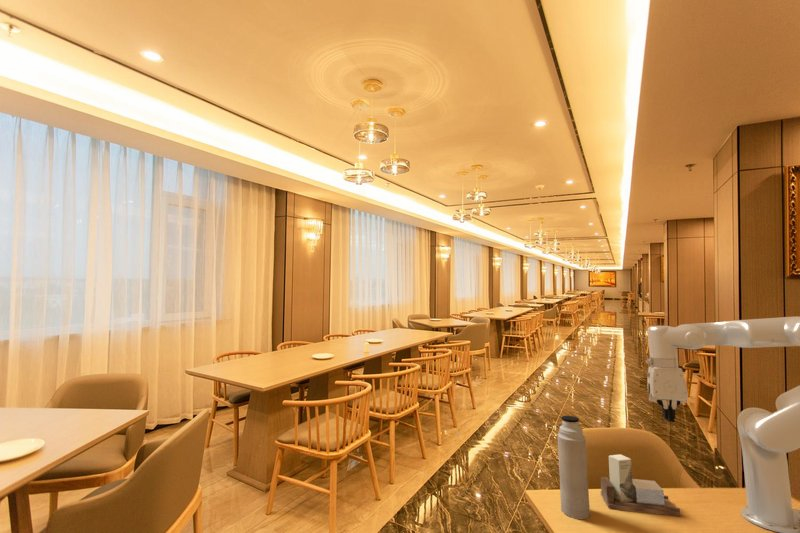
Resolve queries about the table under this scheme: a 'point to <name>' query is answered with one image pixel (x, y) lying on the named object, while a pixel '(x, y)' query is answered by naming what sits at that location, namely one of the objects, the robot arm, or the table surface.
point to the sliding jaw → (647, 493)
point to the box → (621, 477)
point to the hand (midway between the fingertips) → (669, 420)
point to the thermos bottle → (573, 469)
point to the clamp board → (608, 497)
